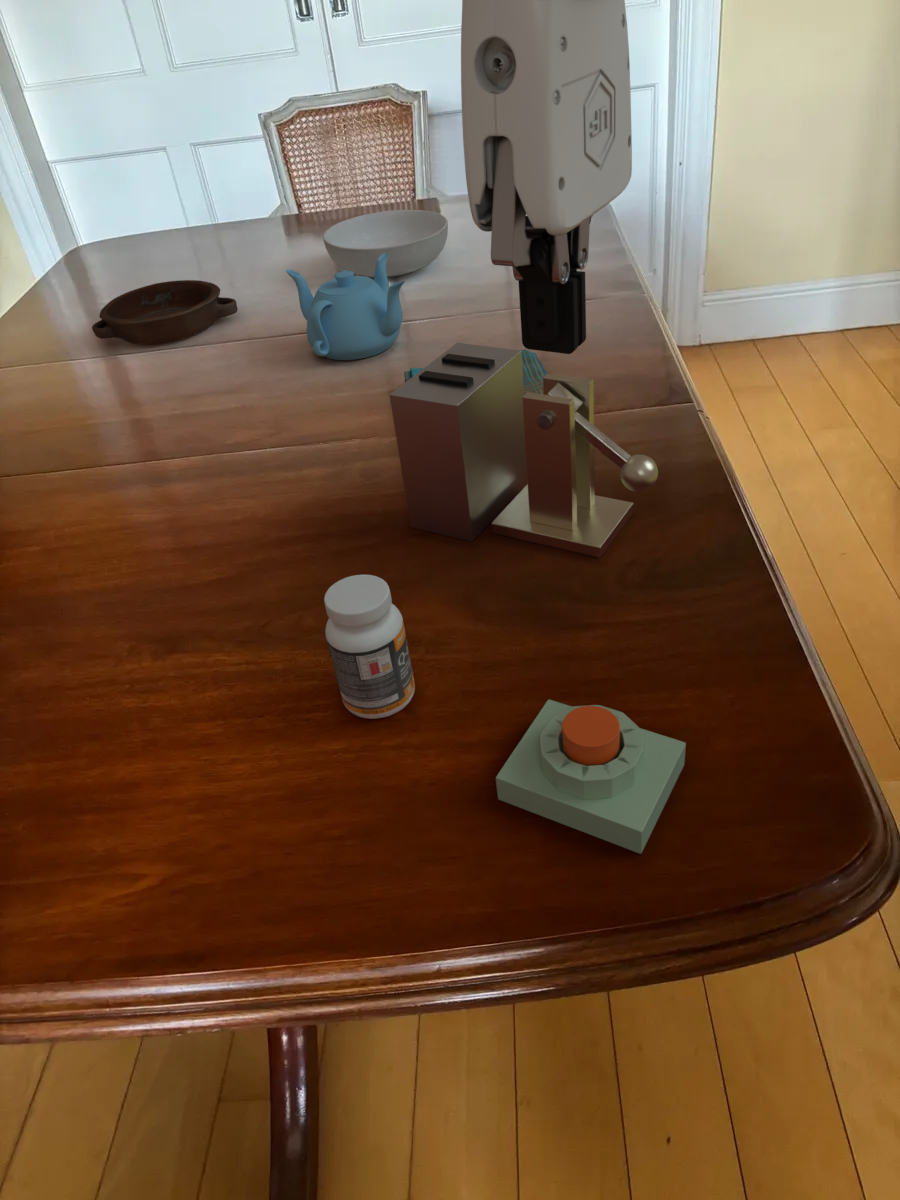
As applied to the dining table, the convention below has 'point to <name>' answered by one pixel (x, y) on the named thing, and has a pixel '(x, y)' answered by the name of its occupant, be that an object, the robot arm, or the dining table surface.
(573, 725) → the timer button
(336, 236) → the serving bowl
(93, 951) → the dining table surface
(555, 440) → the bracket
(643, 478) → the lever
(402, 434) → the toaster
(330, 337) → the teapot
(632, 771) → the timer block
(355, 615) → the pill bottle
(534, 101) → the robot arm
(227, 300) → the dish
